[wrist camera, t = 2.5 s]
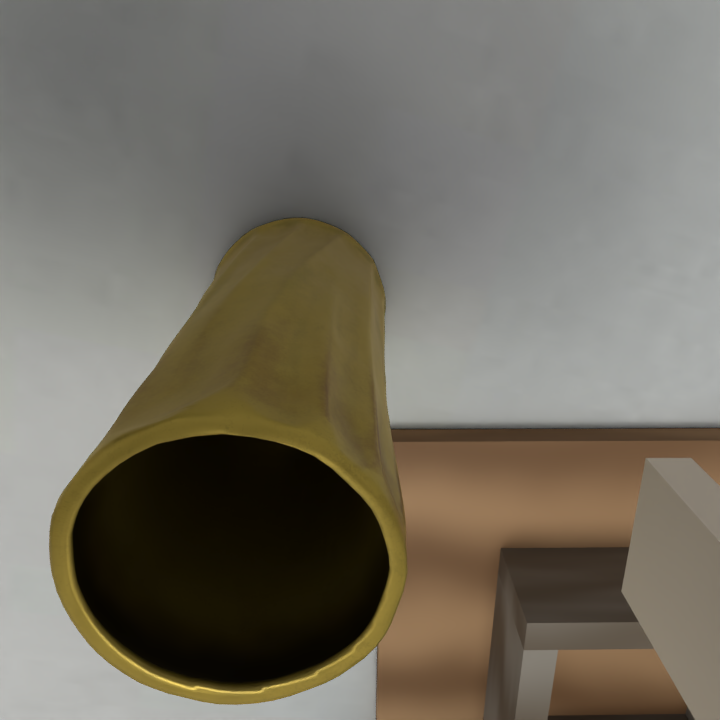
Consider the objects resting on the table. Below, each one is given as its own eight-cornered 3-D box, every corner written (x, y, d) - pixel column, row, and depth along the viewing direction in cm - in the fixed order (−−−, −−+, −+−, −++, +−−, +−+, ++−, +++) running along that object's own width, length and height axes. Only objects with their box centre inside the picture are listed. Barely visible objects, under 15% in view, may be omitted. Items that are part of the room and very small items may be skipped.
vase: (420, 311, 23) (522, 589, 9) (295, 413, 24) (229, 782, 11) (303, 178, 21) (225, 286, 8) (177, 296, 22) (-78, 564, 9)
